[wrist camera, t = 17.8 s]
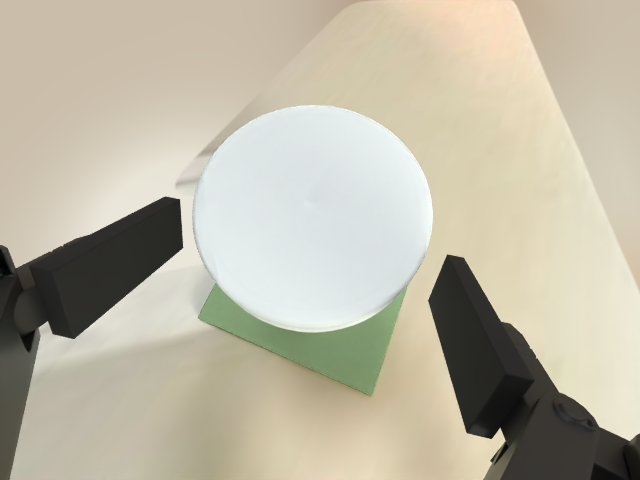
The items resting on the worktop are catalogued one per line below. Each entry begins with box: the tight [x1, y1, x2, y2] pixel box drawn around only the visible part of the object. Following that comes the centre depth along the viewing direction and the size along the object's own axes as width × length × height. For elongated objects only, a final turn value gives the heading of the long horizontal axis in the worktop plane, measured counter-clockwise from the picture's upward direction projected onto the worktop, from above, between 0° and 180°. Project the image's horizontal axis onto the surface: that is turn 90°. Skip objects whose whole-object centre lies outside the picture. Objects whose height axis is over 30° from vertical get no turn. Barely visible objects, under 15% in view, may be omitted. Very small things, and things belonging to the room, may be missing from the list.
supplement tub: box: [193, 105, 433, 333], centre depth 18 cm, size 10×10×15 cm
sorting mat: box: [198, 284, 408, 396], centre depth 25 cm, size 15×14×1 cm
